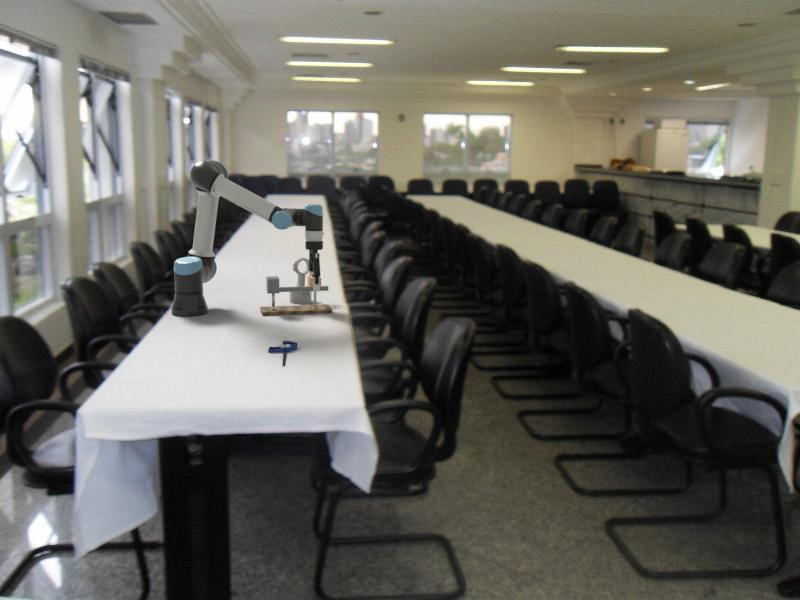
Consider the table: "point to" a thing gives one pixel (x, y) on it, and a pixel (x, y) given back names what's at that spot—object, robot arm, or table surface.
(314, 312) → the hole plate
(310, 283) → the block
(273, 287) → the grey piece
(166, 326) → the table surface
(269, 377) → the table surface
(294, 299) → the engine component
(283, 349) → the bar clamp
